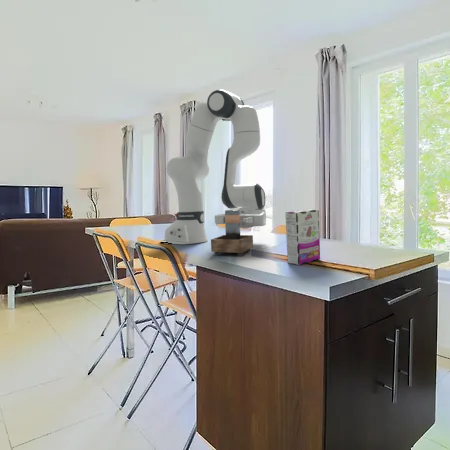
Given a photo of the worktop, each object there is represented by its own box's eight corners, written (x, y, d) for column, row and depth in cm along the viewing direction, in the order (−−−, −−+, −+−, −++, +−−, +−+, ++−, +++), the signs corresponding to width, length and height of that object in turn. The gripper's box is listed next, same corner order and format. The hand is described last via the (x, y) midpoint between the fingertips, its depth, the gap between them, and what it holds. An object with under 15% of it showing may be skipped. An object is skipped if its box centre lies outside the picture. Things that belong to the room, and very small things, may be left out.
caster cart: (211, 255, 131) (210, 239, 130) (224, 249, 142) (223, 234, 141) (242, 257, 126) (241, 240, 126) (253, 250, 137) (252, 235, 137)
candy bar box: (308, 257, 120) (307, 209, 119) (320, 259, 117) (319, 209, 115) (286, 263, 113) (284, 211, 112) (298, 265, 109) (297, 212, 108)
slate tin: (223, 246, 132) (222, 211, 131) (229, 243, 138) (228, 209, 136) (237, 246, 130) (236, 211, 129) (242, 244, 135) (242, 209, 134)
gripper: (222, 210, 151) (207, 212, 138) (269, 209, 143) (258, 212, 130) (222, 225, 151) (208, 229, 139) (269, 225, 143) (258, 229, 131)
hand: (232, 221), depth 134 cm, fingers open, 8 cm apart
